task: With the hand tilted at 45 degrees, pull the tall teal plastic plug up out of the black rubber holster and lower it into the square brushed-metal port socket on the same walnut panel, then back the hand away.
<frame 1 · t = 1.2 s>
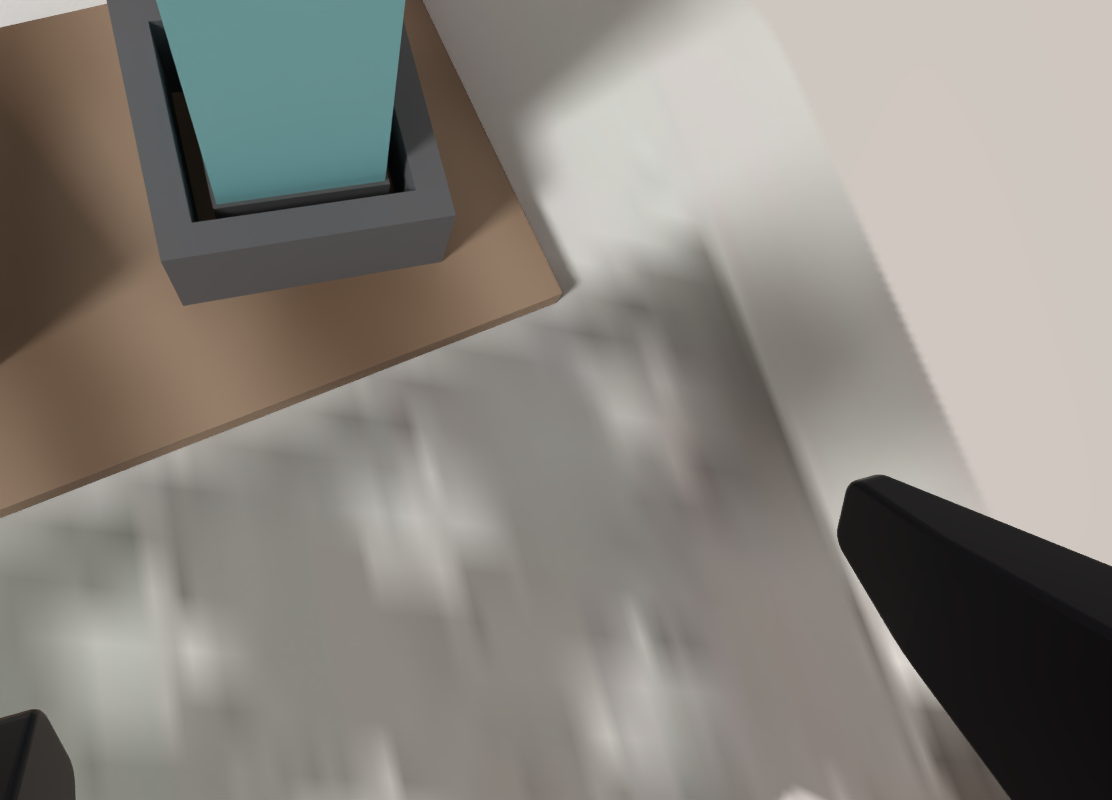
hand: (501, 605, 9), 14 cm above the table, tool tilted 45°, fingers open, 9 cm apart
plug: (290, 167, 24), point 1 cm above the table, touching panel board
holster: (290, 167, 24), resting on panel board
panel board: (52, 254, 22), on the table
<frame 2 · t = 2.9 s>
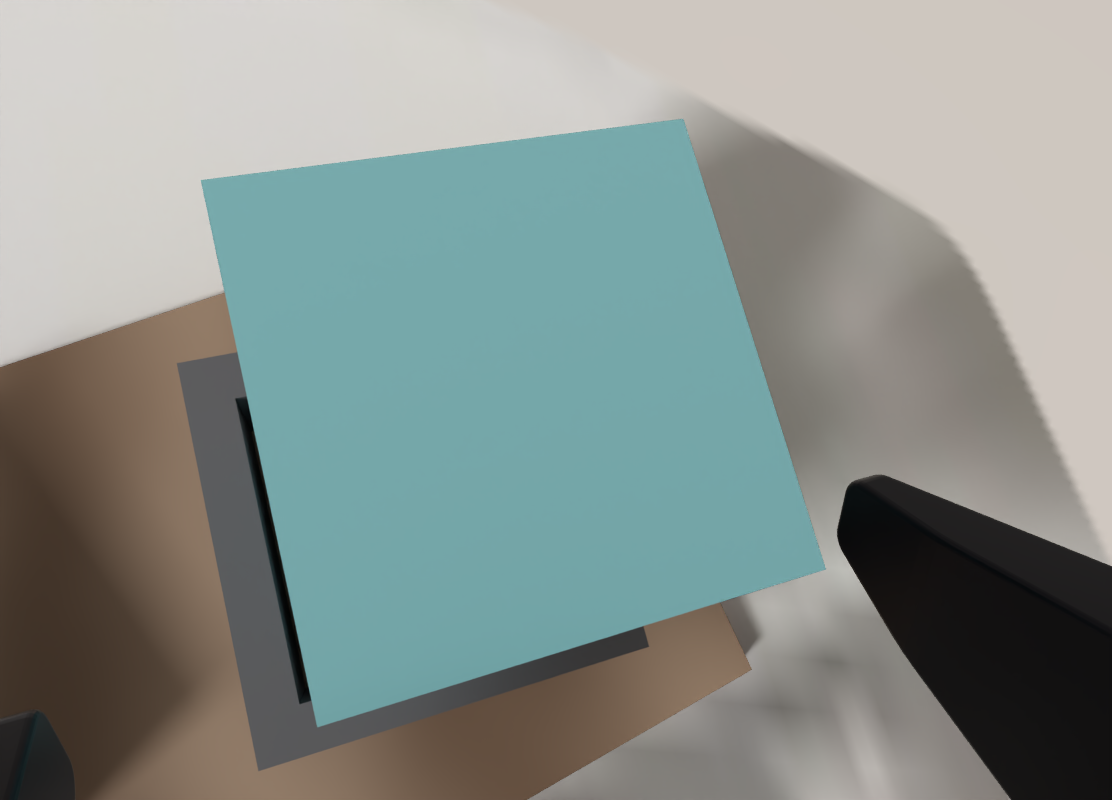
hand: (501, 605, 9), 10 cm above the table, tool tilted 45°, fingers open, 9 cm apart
plug: (406, 524, 18), point 1 cm above the table, touching panel board
holster: (406, 524, 18), resting on panel board
panel board: (95, 665, 17), on the table
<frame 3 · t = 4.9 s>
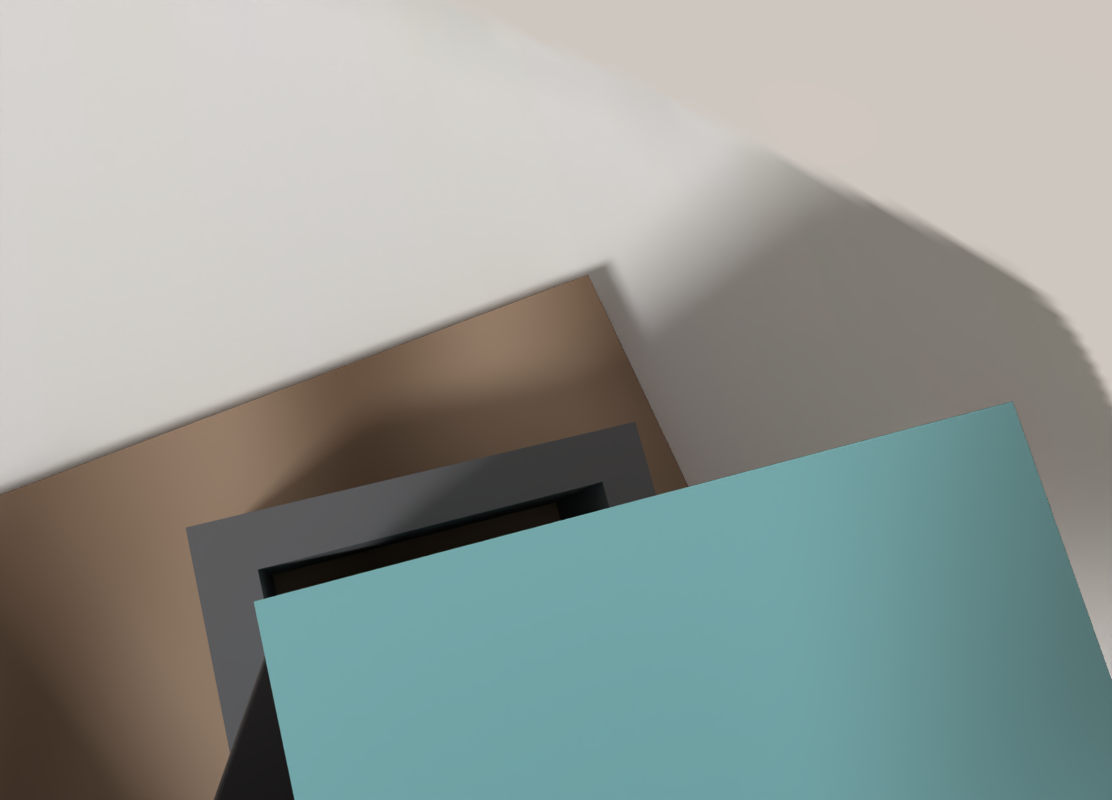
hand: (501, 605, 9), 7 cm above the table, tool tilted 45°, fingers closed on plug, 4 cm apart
plug: (455, 681, 15), point 1 cm above the table, touching gripper, panel board
holster: (455, 681, 15), resting on panel board
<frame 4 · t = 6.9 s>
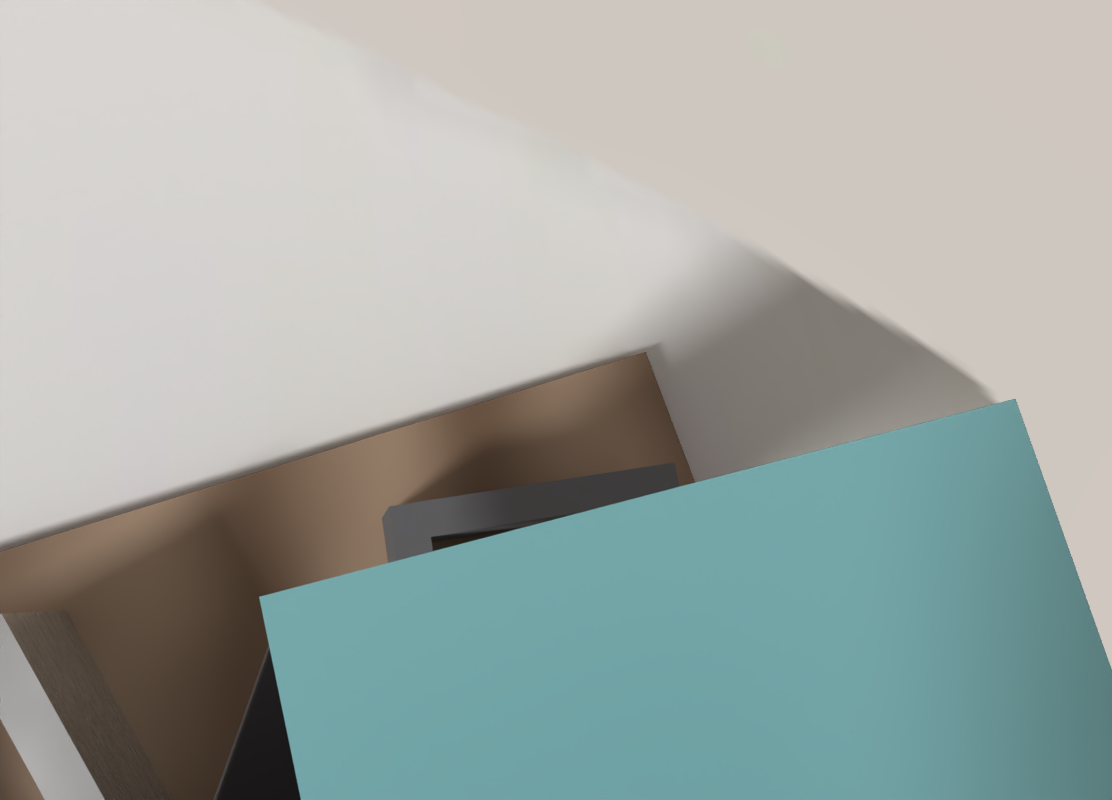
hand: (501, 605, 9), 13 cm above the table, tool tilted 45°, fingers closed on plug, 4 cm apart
plug: (456, 680, 15), point 7 cm above the table, touching gripper
holster: (534, 629, 22), resting on panel board
panel board: (284, 725, 21), on the table
when the fingers open (8 cm above the table, at t = 9.2 s): plug drops 1 cm, resting on panel board.
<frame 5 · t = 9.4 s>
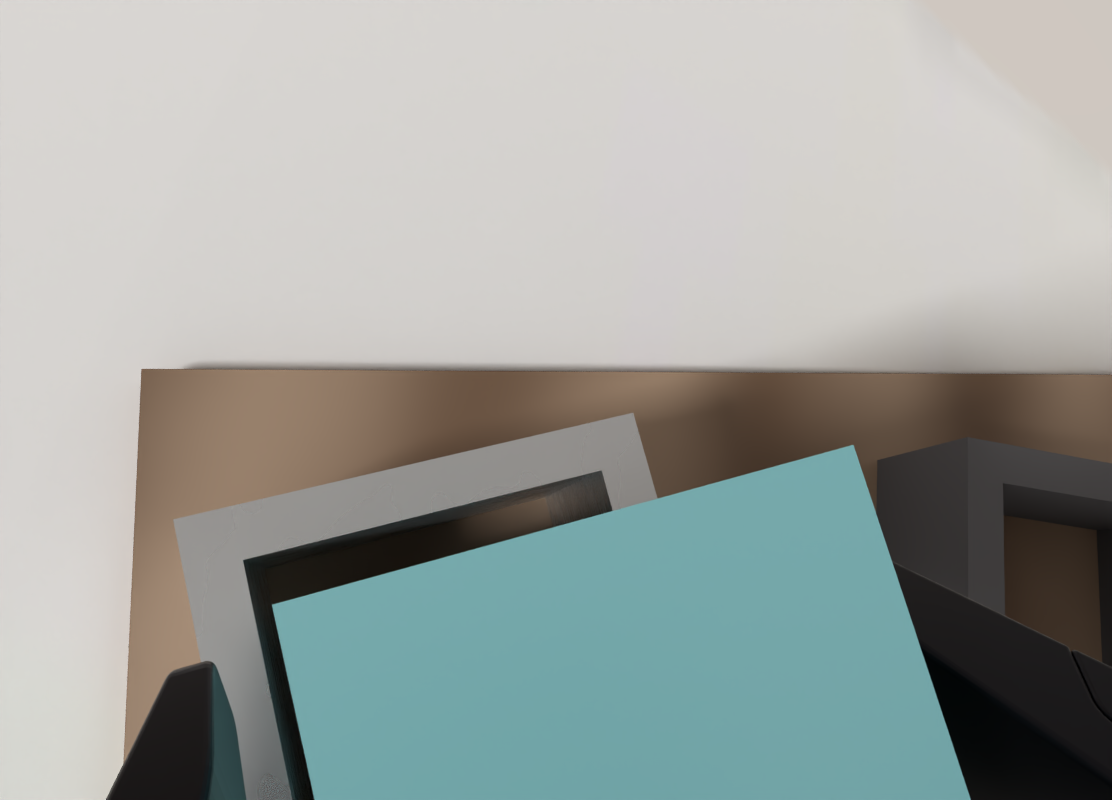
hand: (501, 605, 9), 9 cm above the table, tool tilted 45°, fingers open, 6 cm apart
plug: (444, 674, 17), point 1 cm above the table, touching panel board
holster: (1006, 628, 20), resting on panel board
panel board: (733, 647, 19), on the table
port: (445, 674, 17), resting on panel board
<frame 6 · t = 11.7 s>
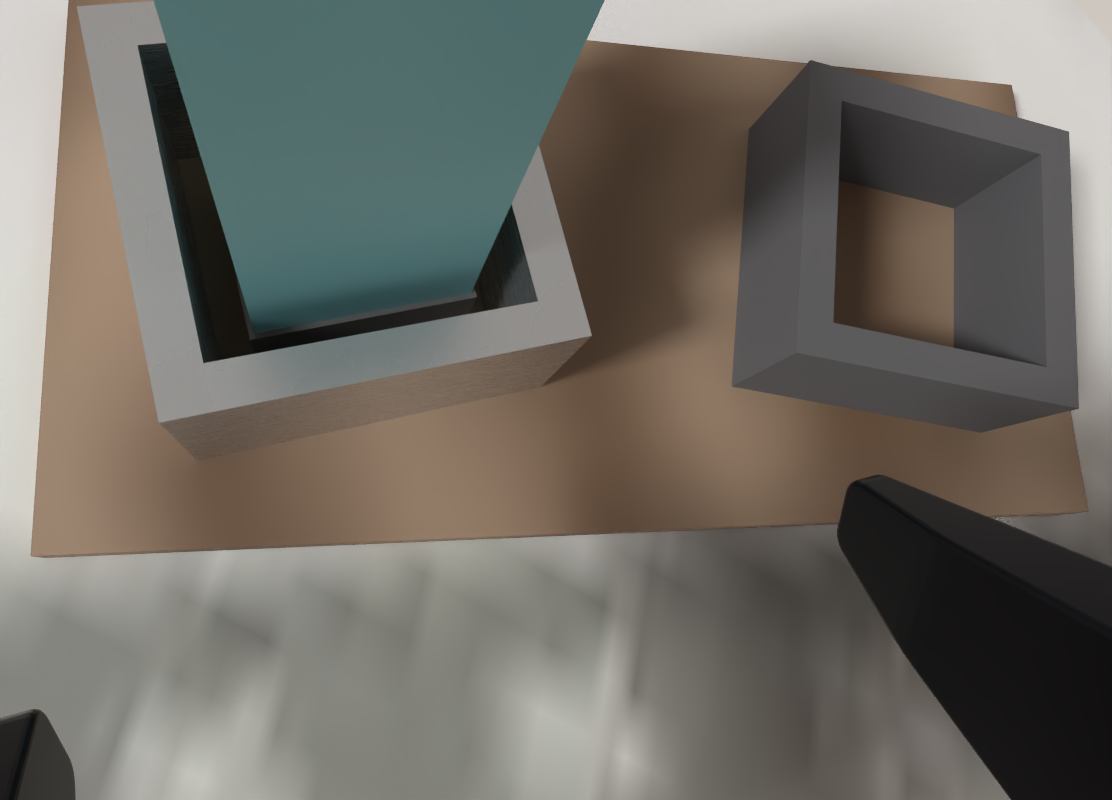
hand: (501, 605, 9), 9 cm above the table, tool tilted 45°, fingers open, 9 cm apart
plug: (340, 261, 19), point 1 cm above the table, touching panel board
holster: (864, 280, 22), resting on panel board
panel board: (612, 283, 21), on the table
port: (341, 261, 19), resting on panel board
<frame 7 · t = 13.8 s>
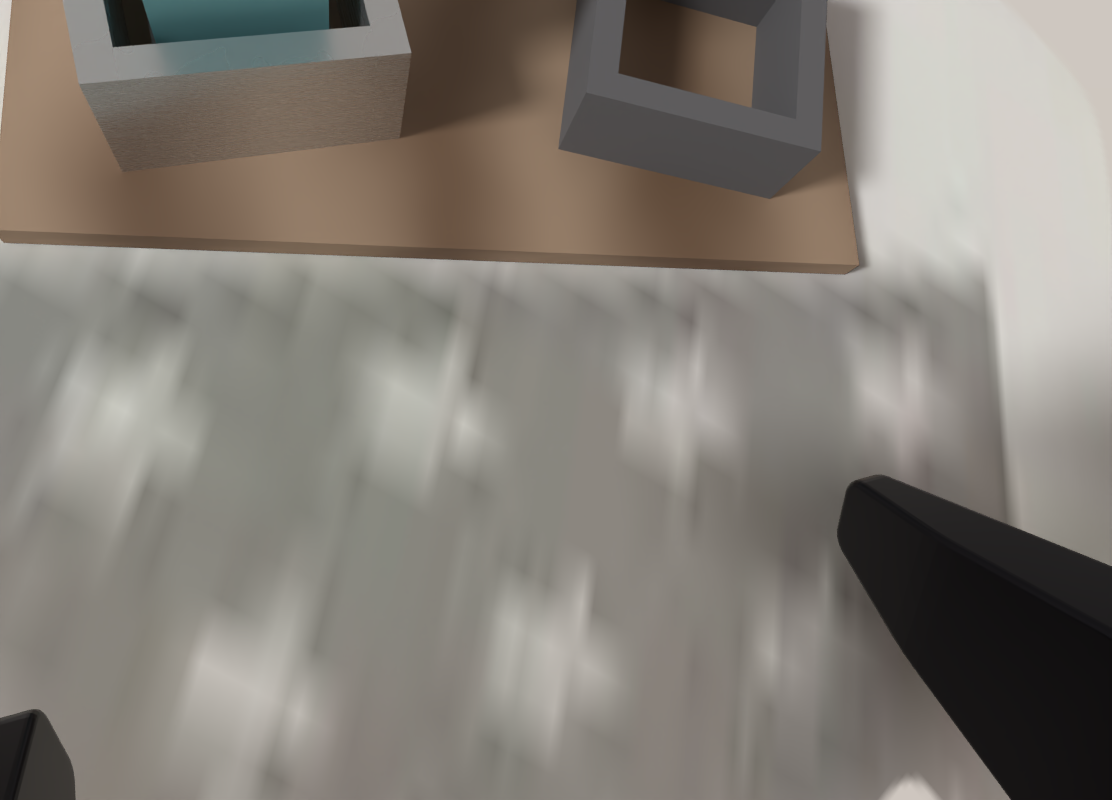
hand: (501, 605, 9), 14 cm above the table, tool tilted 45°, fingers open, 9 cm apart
plug: (239, 35, 24), point 1 cm above the table, touching panel board
holster: (675, 76, 27), resting on panel board
panel board: (467, 73, 26), on the table
port: (240, 35, 24), resting on panel board
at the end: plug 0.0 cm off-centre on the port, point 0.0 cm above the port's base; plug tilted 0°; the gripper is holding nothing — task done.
